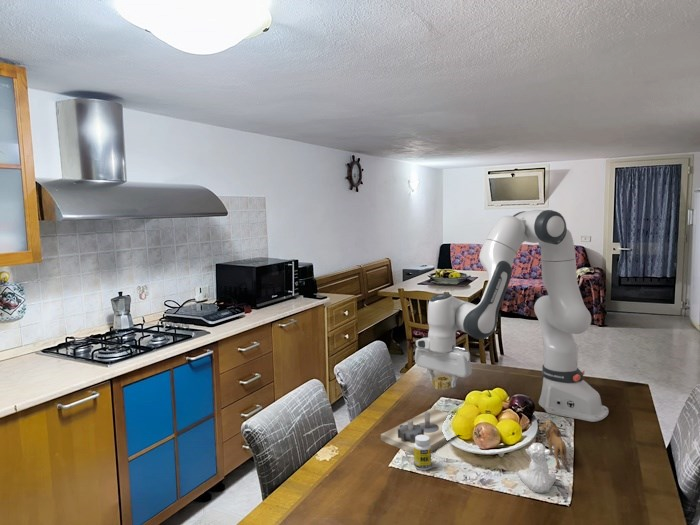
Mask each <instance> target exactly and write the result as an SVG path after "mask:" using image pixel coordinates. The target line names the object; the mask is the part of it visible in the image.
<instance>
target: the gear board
mask: <svg viewBox="0 0 700 525" xmlns="http://www.w3.org/2000/svg"><path fill="white" fill-rule="evenodd" d="M450 414H451V413H449V412H446V411H444V410H443V411H442V410H440V409H436V408H434V407H433V408H429V409H428V410H426V411H424V412H422V413H420V414H418V415H416V416H414V417H413V418H410V419H408V420H405V421H404V422H402V423H400V424H398V425H397V426H394V427H393V428H391V429H389V430H387V431H385V432H383V433H380V441H381V442H383V443H386V444H388V445H391V446H393V447H395V448H398V449H399V450H402V449H403V451H405V452H407V453H409V454H412V455H414V444H415V437H416V436H417V435H427V436H428V437H429V438H430V445H431V453H432V452H434V451H435V450H437V449H439V448H440V447H442V446H444V445H445V444H446V442H447V440H446V438H445V436H444V434H443V432H442V425H443V423H444V421H445V420H446V418H447V416H448V415H450ZM452 415H453V414H452ZM452 415H451V417H450V418H449V420H450V421H451V419H452V417H453V416H452ZM447 443H448V442H447ZM441 445H442V446H441ZM438 447H439V448H438Z"/></svg>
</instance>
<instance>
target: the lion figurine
mask: <svg viewBox="0 0 700 525" xmlns="http://www.w3.org/2000/svg"><path fill="white" fill-rule="evenodd" d="M538 428H539V430H540V432H541V433H542V434H544V435H545V437H546V439H547V446H548V449H549V450H550V453H549V455H550V456H551V455H554V456H553V457H554V459H555V463H556V465H555V469H557V470H558V469H561V464H562V466H563V467H564V469H565V471H567V472H570V469H569V468H568V466H567V465H569V463H568V461H567V452H568V451H567V446H566V442H564V440H563V439H562V432H561V431H560V428H559V427H558V425H557V424H556V423H555V422H554V421H552V420H551V419H550V420H549V419H547V420H545V421H544V423H543V424H542V425H541V426H539V427H538ZM559 454H560V455H559ZM549 455H548V456H549ZM559 456H560V459H559ZM560 460H561V461H560ZM560 462H562V463H561V464H560Z"/></svg>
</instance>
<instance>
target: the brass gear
mask: <svg viewBox="0 0 700 525" xmlns="http://www.w3.org/2000/svg"><path fill="white" fill-rule="evenodd" d="M435 376H436V377H434V378H433V379H432V382H431V387H432V388H435V390H442V391H446V390H450V389H452V387H449V382H450V381H452V379H453V378H452V376H451V375H442V374H440V375H435Z"/></svg>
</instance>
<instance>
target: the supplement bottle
mask: <svg viewBox="0 0 700 525" xmlns="http://www.w3.org/2000/svg"><path fill="white" fill-rule="evenodd" d="M413 465H414V468H415V469H417V470H419V471H427V470H429V469H431V467H432V452H431V445H430V438H429V437H428V436H427V435H417V436H416V437H415V444H414V454H413Z"/></svg>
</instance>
